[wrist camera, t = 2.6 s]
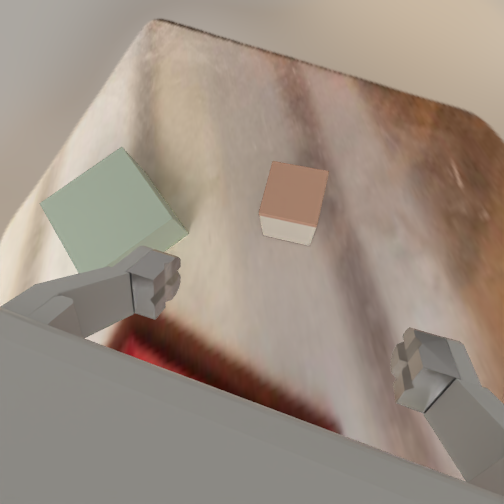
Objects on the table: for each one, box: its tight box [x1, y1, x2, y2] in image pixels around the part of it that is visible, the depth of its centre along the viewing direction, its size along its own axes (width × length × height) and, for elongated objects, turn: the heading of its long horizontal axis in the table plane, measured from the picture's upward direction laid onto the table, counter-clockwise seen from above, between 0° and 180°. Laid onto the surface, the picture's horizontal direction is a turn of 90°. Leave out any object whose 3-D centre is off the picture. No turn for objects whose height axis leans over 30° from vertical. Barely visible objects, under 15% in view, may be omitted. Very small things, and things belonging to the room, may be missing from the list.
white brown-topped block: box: [259, 161, 329, 246], centre depth 34 cm, size 6×6×8 cm
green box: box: [40, 147, 188, 273], centre depth 37 cm, size 12×12×6 cm
